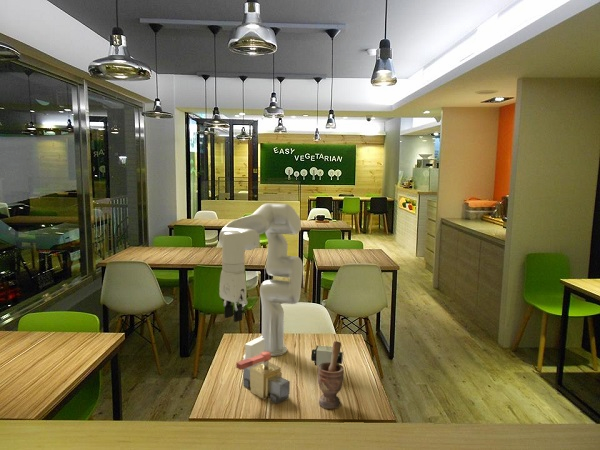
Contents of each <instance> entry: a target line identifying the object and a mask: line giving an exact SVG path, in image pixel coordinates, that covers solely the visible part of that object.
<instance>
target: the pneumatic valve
mask: <svg viewBox="0 0 600 450" xmlns="http://www.w3.org/2000/svg"><path fill="white" fill-rule="evenodd" d="M332 347H333V346H330V345H326V346H325V345H316V346H315V348H313V349H312V350H311V355H310V356H311V359H310V360H311V362H313V363H314V366H316V367H318V366H319V365H320V364H321V363H325V362H331V357H332ZM343 360H344V352H342V351H340V352H339V355H338V359H337V363H338V364H340V365H343Z"/></svg>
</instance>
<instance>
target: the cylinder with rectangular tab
mask: <svg viewBox="0 0 600 450" xmlns="http://www.w3.org/2000/svg"><path fill="white" fill-rule="evenodd" d="M244 349H245V351H244V354H243V358H242V359H243V360H245V359H249V358H252V357H255V356H258V355H260V354H261V353H262V352H264V338H260V336H259V337H256V338H254V339H252V340H250V341H248V342H247V343H244ZM260 364H263V362H260V363H257V364H256V365H260Z"/></svg>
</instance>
